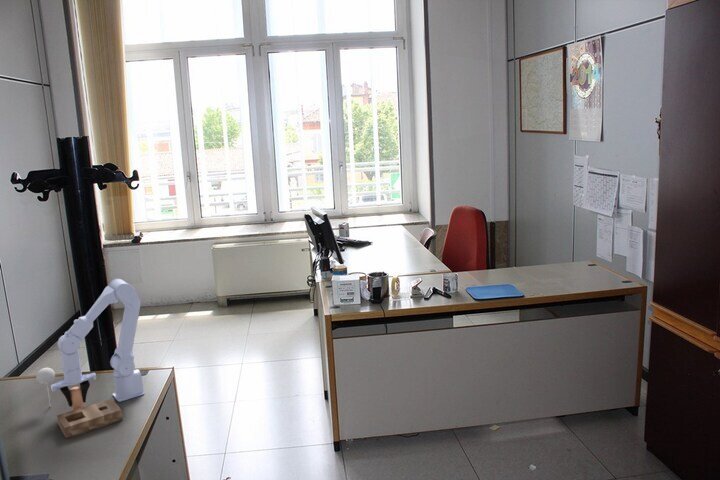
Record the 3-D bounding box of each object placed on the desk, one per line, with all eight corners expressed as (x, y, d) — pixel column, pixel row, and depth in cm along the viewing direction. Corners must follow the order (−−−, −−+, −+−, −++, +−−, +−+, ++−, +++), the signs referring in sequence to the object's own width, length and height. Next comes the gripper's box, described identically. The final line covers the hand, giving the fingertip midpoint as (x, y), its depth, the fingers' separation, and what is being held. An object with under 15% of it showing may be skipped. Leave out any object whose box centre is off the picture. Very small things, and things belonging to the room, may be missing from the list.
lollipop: (51, 411, 214) (45, 372, 211) (37, 410, 216) (31, 371, 212) (63, 403, 220) (57, 365, 217) (49, 402, 222) (43, 364, 218)
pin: (82, 405, 217) (79, 385, 215) (85, 409, 214) (82, 389, 212) (70, 409, 215) (67, 388, 213) (73, 413, 212) (70, 392, 210)
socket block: (113, 408, 215) (111, 398, 214) (122, 420, 206) (121, 409, 205) (58, 426, 204) (56, 415, 203) (66, 439, 195) (64, 427, 194)
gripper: (90, 358, 218) (95, 393, 221) (46, 370, 210) (52, 406, 213) (95, 364, 213) (100, 399, 216) (51, 376, 204) (57, 413, 207)
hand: (77, 403), depth 214 cm, fingers closed on pin, 4 cm apart
